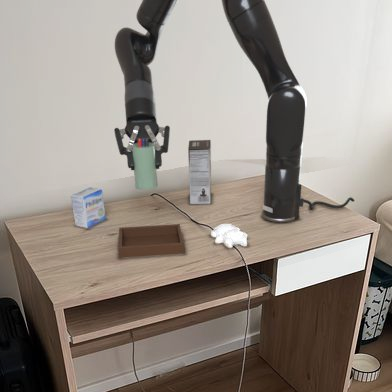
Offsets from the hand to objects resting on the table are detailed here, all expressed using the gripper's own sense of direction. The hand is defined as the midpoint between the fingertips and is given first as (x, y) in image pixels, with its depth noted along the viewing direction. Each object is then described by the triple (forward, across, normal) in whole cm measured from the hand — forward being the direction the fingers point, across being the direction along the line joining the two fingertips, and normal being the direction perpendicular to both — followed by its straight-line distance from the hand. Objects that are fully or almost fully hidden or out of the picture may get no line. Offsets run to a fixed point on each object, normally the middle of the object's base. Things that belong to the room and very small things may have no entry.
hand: (145, 167), depth 132 cm
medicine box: (+5, -16, +20) cm, 26 cm away
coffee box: (-5, +16, +30) cm, 34 cm away
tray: (+18, 0, +7) cm, 19 cm away
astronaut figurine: (+17, +20, +8) cm, 27 cm away
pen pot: (+3, 0, +4) cm, 5 cm away
